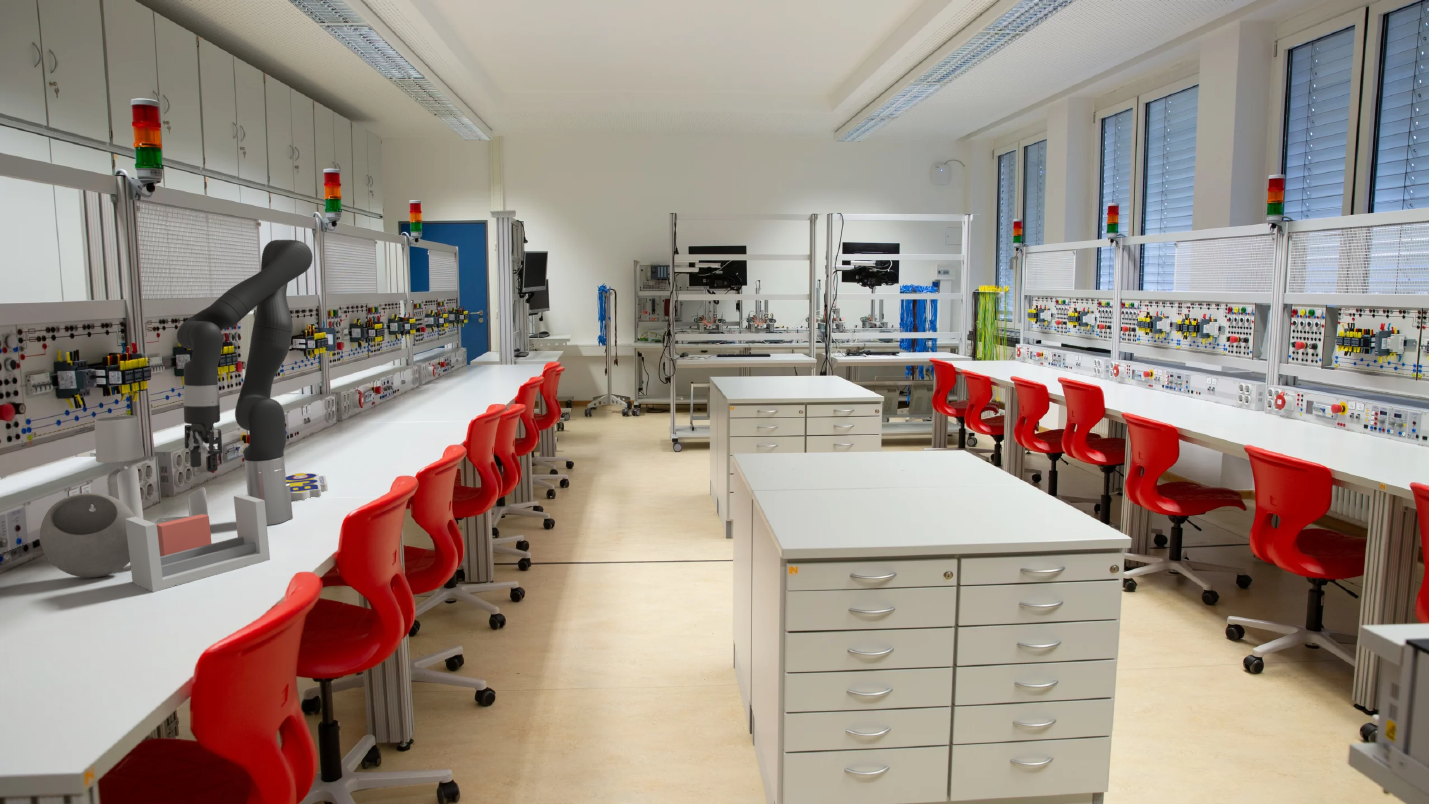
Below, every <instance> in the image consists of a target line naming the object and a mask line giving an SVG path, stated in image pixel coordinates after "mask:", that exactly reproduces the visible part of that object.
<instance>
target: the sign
mask: <svg viewBox="0 0 1429 804" xmlns="http://www.w3.org/2000/svg"><path fill="white" fill-rule="evenodd" d="M286 483H289V484H290V491H291V501H294V500H302V501H306V500H305V499H307V498H309V499H312V498H311V497H316V498H321V497H322V493H325V492H324V491H326V492H328V491H329V488H328V481H327V476H326V475H319V474H318V473H315V472H295V473H292V474H289V475H286ZM320 496H321V497H320ZM307 500H308V499H307Z"/></svg>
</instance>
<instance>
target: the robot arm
mask: <svg viewBox="0 0 1429 804" xmlns="http://www.w3.org/2000/svg"><path fill="white" fill-rule="evenodd" d="M312 252H313V251H312V249H311V247H309V245H308V244H306V243H305V242H303V241H301V240H296V239H274V240H271V241H269V242H268V243H267V244H266V245H264V247H263V251H262V255H261V261H260V263H261V264H260V271H258V272H257V273H256V274H254V275H252V276H250V277H248V278H247V279H244V280H242V281H240V282H238V283H236V284H235V285H234V286H232V287H231V288H229V289H228V290H227V291H225V292H224V293H223V294H222V295H220V297H219V298H217V299H216V300H215V301H214V302H212V304H211V305H209V306H208V307H206V308H204V309H202V310H200V311H199V312H197V313H196V314H194V315H191V316H190V317H189V318H188V319H186V320H185V321H183V322H182V324H181V325H179V328H178V329H177V331H176V341H177V342H178V344H179V345H180V346H181V347H183V348H184V349H187V350H191V351H192V352H191V353H192V354H191V359H190V360H188V361H186V362H185V363H184V366H183V386H184V387H183V394H182V395H183V396H182V397H183V399H182V400H183V421H184V423H185V425H184V449H185V450H187V451H188V452H189V464H190V468H200V467H201V466H202V452H201V450H204V453H205V461H206V462H205V463H206V468H205V469H206V471H207V472H217V471H218V468H219V467H218V456H219V455H220V454H223V442H222V441H223V439H222V438H223V437H222V430H221V429H220V428H217V429H215V426H214V424H217V423H219V422H220V421H221V405H220V404H221V403H220V402H221V400H220V390H219V381H218V379H219V377H218V375H219V374H218V366H219V364H220V363H219V362H220V360H221V359H220V358H221V354H222V351H223V344H224V338H223V333H222V330H225V329H229V328H232V327H234V326H236V325H237V324H238V323H239V322H240V321H241V320H243V319H244V318H245V317H246V316H248V314H249V313H251V311H253V310H254V309H255V308H256V309H255V310H256V311H255V317H254V320H253V323H252V324H253V326H252V330H251V336H250V337H251V338H250V344H249V349H248V350H249V351H248V354H247V355H248V356H247V362H246V369H245V372H244V378H243V381H242V384H241V389H240V392H239V395H238V399H237V400H236V401H237V402H236V405H235V411H234V418H235V422H236V423H237V425H238V426H239V427H240V428H241V429H243V430H244V431H249V432H248V433H249V444H248V446H247V447H245V448H244V450H243V459H244V471H245V480H246V481H245V482H246V489H247V491H246V492H247V496H251V497H255V498H258V499H262V500H265V511H266V522H267V526H271V525H277V524H281V523H282V524H283V523H285V522H287V521H288V520H290V519H291V520H292V519H294V516H293V504H292V500H291V491H290V484H289V483H286V476H287V475H286V465H285V447H286V444H287V435H286V434H287V433H286V431H287V430H286V428H287V427H286V416H285V410H284V407H283V406H282V404H281V403H280V402H279V401H277V400H276V399H273V398H271V394H272V388H273V383H274V380H275V377H276V375H277V373H278V371H279V369H280V368H281V366H282V365H283V363H284V361H285V360H286V358H287V356H288V354H289V351H290V346H291V343H292V342H291V341H292V336H293V330H294V329H293V328H294V325H293V317H292V314H291V311H290V307H289V303H288V300H287V292H288V291H287V290H288V284H289V283H290V282H291V281H293V280H295V279H296V278H298V277H300V276H301V275H303V274H304V273H305V272H307V271H308V270H309V269H310V268H311V266H312V263H313V253H312Z"/></svg>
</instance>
